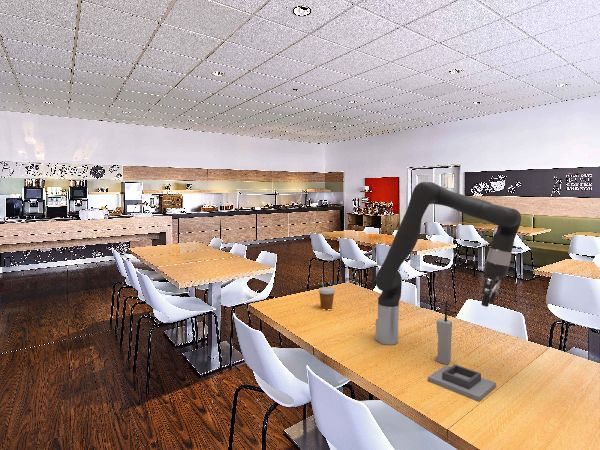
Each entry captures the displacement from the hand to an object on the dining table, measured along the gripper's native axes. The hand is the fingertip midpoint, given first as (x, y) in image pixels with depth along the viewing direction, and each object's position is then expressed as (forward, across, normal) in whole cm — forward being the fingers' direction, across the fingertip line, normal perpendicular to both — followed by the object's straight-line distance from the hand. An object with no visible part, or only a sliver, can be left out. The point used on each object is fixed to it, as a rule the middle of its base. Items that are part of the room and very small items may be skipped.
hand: (487, 304), depth 138 cm
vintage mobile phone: (+28, -1, -11) cm, 31 cm away
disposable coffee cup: (+39, -26, -86) cm, 98 cm away
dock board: (+27, +13, 0) cm, 30 cm away
